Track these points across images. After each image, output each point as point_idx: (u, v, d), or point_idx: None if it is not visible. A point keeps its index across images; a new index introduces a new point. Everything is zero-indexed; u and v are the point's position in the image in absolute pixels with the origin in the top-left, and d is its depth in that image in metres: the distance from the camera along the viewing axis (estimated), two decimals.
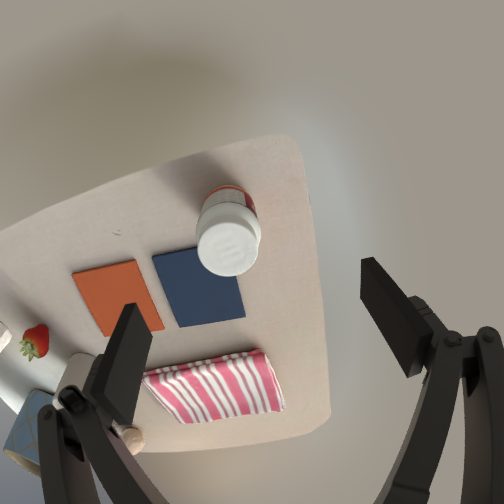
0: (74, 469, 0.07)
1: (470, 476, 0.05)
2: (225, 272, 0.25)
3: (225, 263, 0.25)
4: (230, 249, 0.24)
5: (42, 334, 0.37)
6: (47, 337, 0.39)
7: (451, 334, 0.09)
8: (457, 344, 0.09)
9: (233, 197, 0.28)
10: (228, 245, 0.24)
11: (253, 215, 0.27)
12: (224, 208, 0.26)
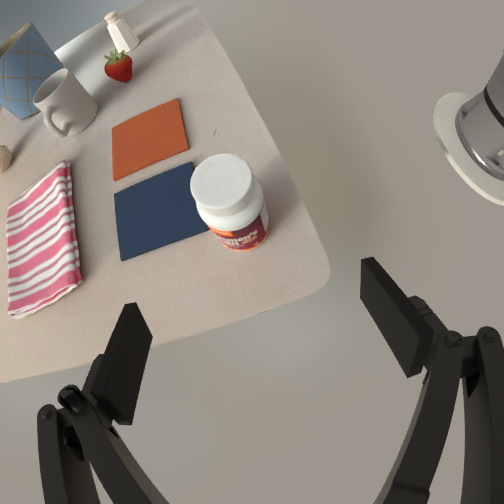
0: (74, 469, 0.07)
1: (470, 476, 0.05)
2: (195, 180, 0.23)
3: (205, 179, 0.23)
4: (221, 181, 0.23)
5: (125, 71, 0.41)
6: (120, 78, 0.42)
7: (451, 334, 0.09)
8: (457, 344, 0.09)
9: (265, 208, 0.27)
10: (225, 179, 0.23)
11: (252, 218, 0.25)
12: (258, 187, 0.25)
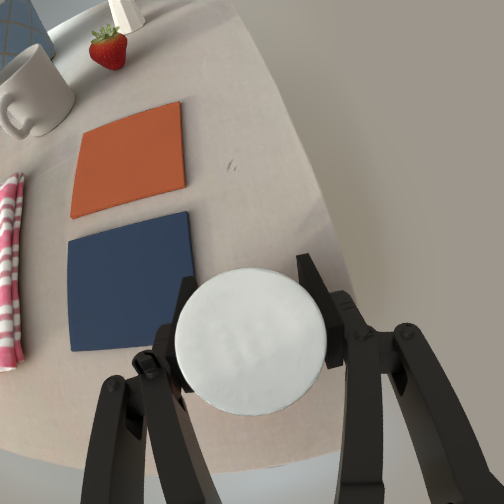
0: (128, 448, 0.08)
1: (429, 471, 0.06)
2: (187, 332, 0.09)
3: (211, 335, 0.09)
4: (251, 349, 0.09)
5: (115, 55, 0.28)
6: (107, 63, 0.29)
7: (360, 328, 0.11)
8: (369, 336, 0.10)
9: None
10: (262, 344, 0.09)
11: None
12: None
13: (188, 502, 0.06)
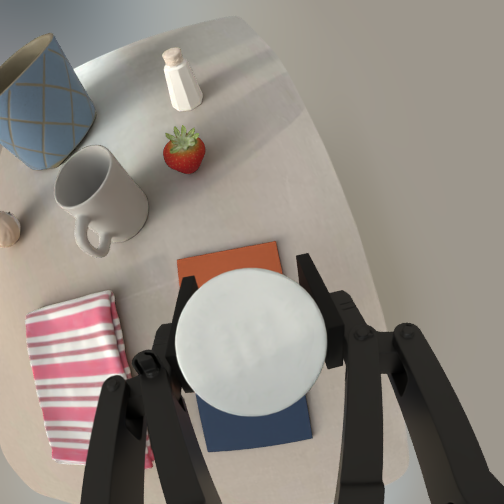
0: (128, 448, 0.08)
1: (429, 471, 0.06)
2: (187, 333, 0.09)
3: (211, 335, 0.09)
4: (251, 350, 0.09)
5: (195, 167, 0.35)
6: (185, 171, 0.36)
7: (360, 328, 0.11)
8: (369, 336, 0.10)
9: None
10: (262, 345, 0.09)
11: None
12: None
13: (188, 502, 0.06)
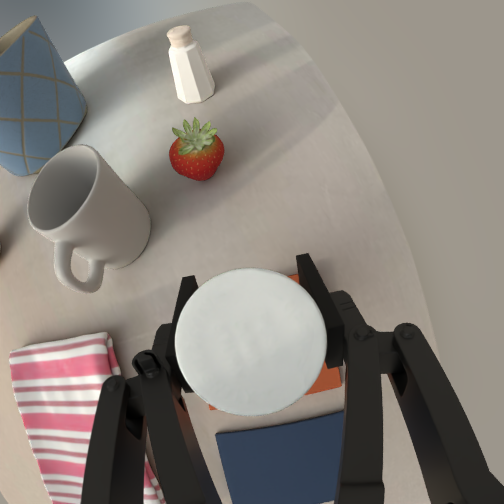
0: (128, 448, 0.08)
1: (429, 471, 0.06)
2: (187, 332, 0.09)
3: (211, 335, 0.09)
4: (251, 350, 0.09)
5: (211, 172, 0.27)
6: (198, 178, 0.28)
7: (360, 328, 0.11)
8: (369, 336, 0.10)
9: None
10: (262, 345, 0.09)
11: None
12: None
13: (188, 502, 0.06)
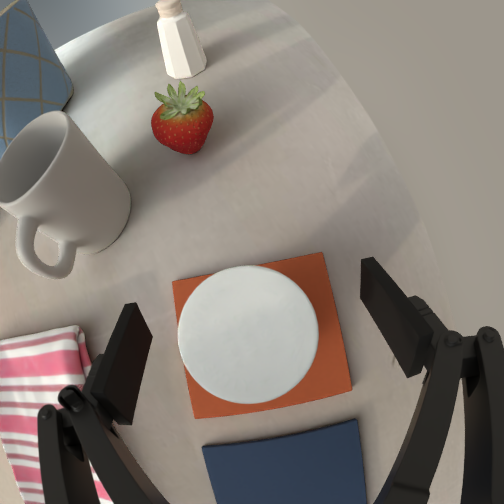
0: (74, 469, 0.07)
1: (470, 476, 0.05)
2: (189, 326, 0.10)
3: (211, 328, 0.10)
4: (248, 341, 0.10)
5: (198, 141, 0.23)
6: (183, 149, 0.24)
7: (451, 334, 0.09)
8: (457, 344, 0.09)
9: None
10: (259, 337, 0.10)
11: None
12: None
13: None
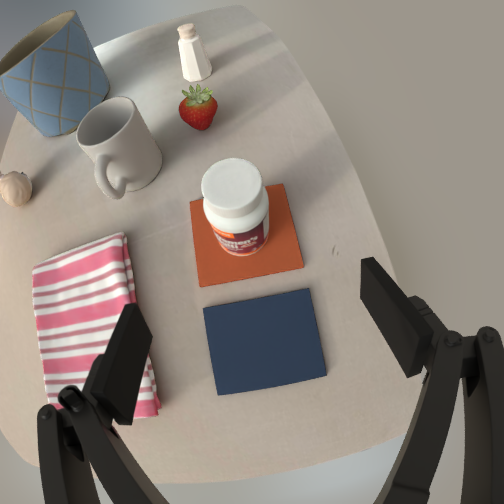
0: (74, 469, 0.07)
1: (470, 476, 0.05)
2: (206, 180, 0.24)
3: (216, 180, 0.24)
4: (231, 184, 0.24)
5: (208, 120, 0.36)
6: (198, 125, 0.38)
7: (451, 334, 0.09)
8: (457, 344, 0.09)
9: (268, 216, 0.29)
10: (236, 182, 0.24)
11: (255, 223, 0.26)
12: (265, 194, 0.26)
13: None
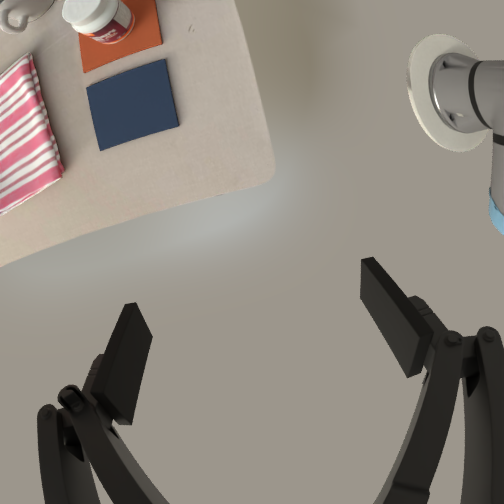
0: (74, 469, 0.07)
1: (470, 476, 0.05)
2: (65, 6, 0.17)
3: (71, 4, 0.17)
4: (81, 4, 0.17)
5: None
6: None
7: (451, 334, 0.09)
8: (457, 344, 0.09)
9: (121, 13, 0.22)
10: (84, 2, 0.17)
11: (105, 22, 0.21)
12: (113, 1, 0.20)
13: None
